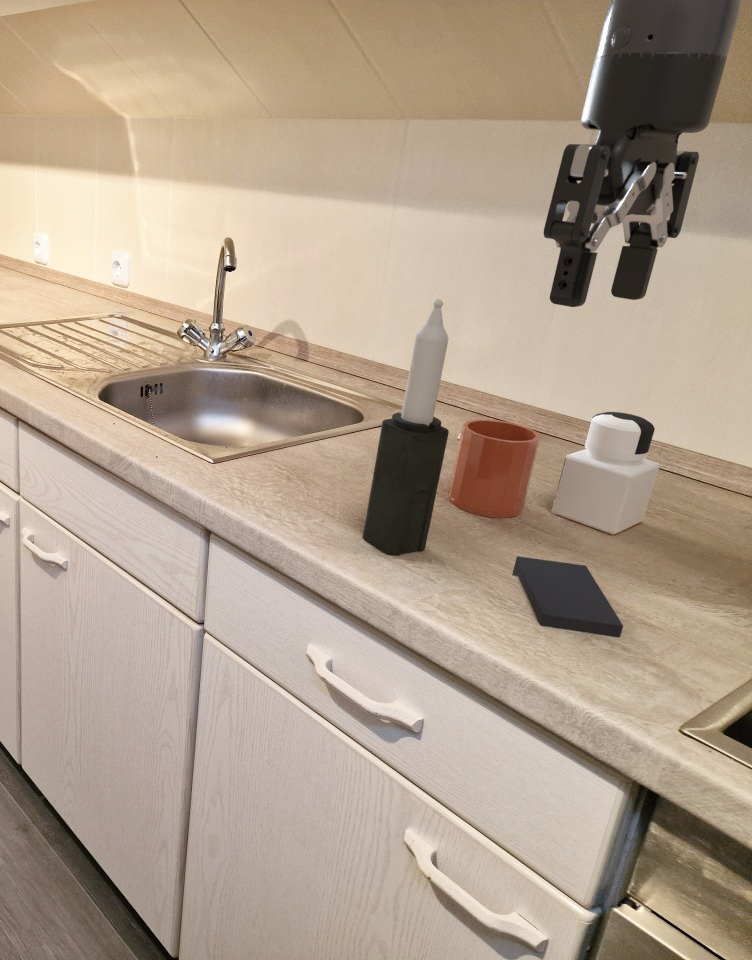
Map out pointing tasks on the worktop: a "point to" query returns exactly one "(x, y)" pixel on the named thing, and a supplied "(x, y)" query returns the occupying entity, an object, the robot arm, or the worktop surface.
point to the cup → (493, 468)
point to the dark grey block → (566, 597)
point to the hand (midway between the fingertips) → (597, 301)
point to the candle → (410, 452)
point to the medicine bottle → (609, 474)
